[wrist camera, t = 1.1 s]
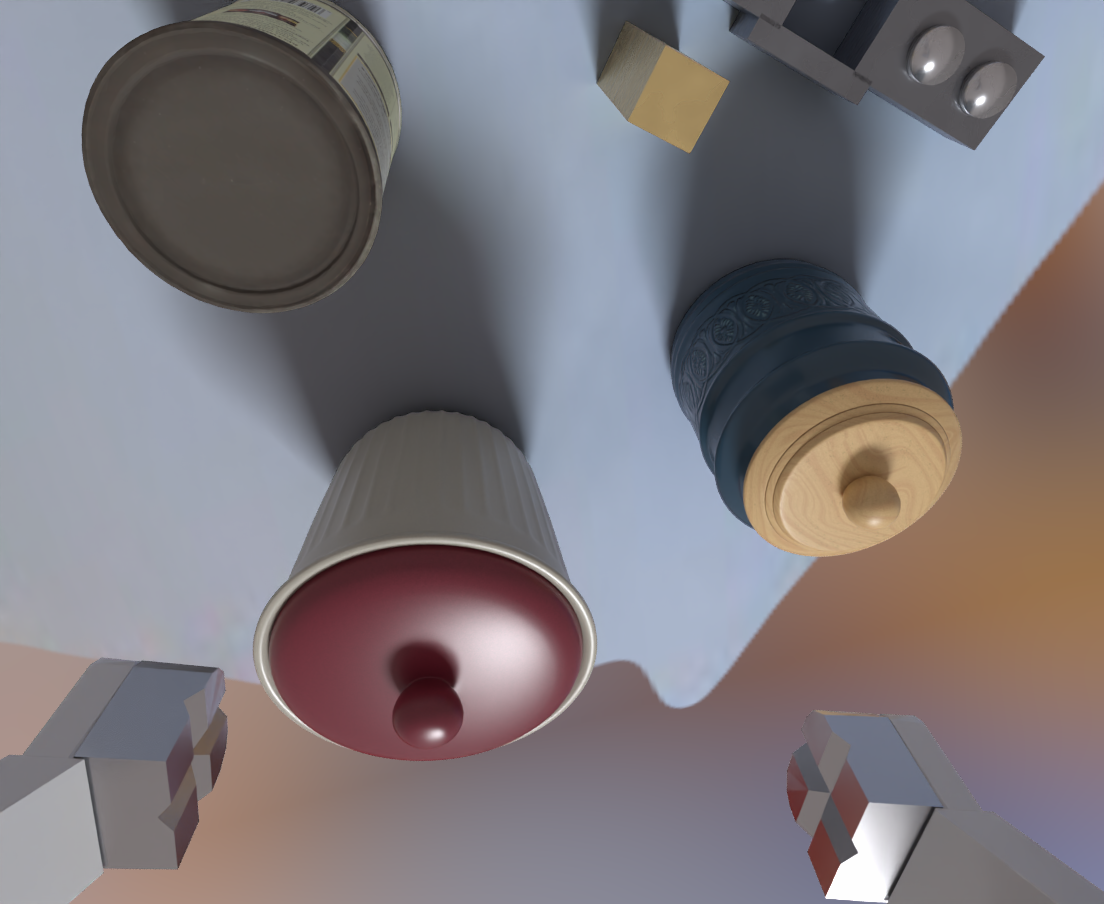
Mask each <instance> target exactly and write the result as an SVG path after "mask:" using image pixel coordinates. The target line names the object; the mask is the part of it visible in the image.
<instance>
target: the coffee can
mask: <svg viewBox="0 0 1104 904" xmlns="http://www.w3.org/2000/svg"><path fill="white" fill-rule="evenodd" d="M401 121H402V108H401V99H400V94H399V89H398V85H397V82H396V79H395V75H394V72H393V69H392V67H391V65H390V63H389V61H388V60H387V58H386V56H385V54H384V52H383V50H382V48H381V47H380V46H379V44H378V43H377V41H376V40H375V39H374V37H373V36H372V35H371V34H370V32H369V31H368V30H367V29H366V28H365V27H364V26H363V25H362V24H361V23H360V22H359V21H358V20H357V19H355V18H354V17H353V16H352V15H351V14H349V13H348V12H347V11H345V10H344V9H342V8H341V7H339V6H337V5H336V4H335V3H333V2H331V1H328V0H238V1H236V2H234V3H232V4H231V5H228V6H226V7H223V8H221V9H218V10H216V11H214V12H211V13H208V14H206V15H203V16H200V17H198V18H196V19H193V20H191V21H183V22H178V23H173V24H169V25H166V26H162V27H159V28H156V29H153V30H151V31H149V32H147V33H145V34H142V35H140V36H139V37H137V38H135V39H134V40H132V41H130V42H129V43H127V44H126V45H125V46H124V47H122V48H121V49H120V50H119V51H117V52H116V53H115V54H114V55H113V56H112V57H111V58H110V59H109V60H108V61H107V62H106V64H105V65H104V66H103V68H102V69H101V71H100V72H99V74H98V76H97V77H96V79H95V81H94V83H93V85H92V87H91V89H90V93H89V95H88V98H87V101H86V105H85V110H84V116H83V123H82V152H83V161H84V167H85V171H86V174H87V178H88V182H89V185H90V187H91V190H92V193H93V195H94V198H95V200H96V202H97V204H98V205H99V208H100V210H101V212H102V213H103V215H104V217H105V218H106V220H107V222H108V223H109V225H110V226H111V228H112V229H113V231H114V232H115V234H116V235H117V237H118V238H119V239H120V240H121V241H122V242H123V244H124V245H125V246H126V247H127V249H128V250H129V251H130V252H131V253H132V254H133V255H134V256H135V257H136V258H137V259H138V260H139V261H140V262H141V263H142V264H143V265H144V266H146V267H147V268H148V269H149V270H150V271H151V272H153V273H154V274H155V275H156V276H158V277H159V278H161V279H162V280H163V281H165V282H166V283H168V284H170V285H171V286H173V287H175V288H177V289H178V290H180V291H182V292H184V293H186V294H187V295H189V296H192V297H194V298H196V299H198V300H200V301H203V302H206V303H209V304H212V305H215V306H218V307H222V308H226V309H230V310H236V311H242V312H250V313H275V312H284V311H289V310H294V309H298V308H302V307H306V306H308V305H311V304H313V303H315V302H317V301H319V300H321V299H323V298H325V297H327V296H329V295H331V294H332V293H334V292H335V291H336V290H338V289H339V288H340V287H342V286H343V285H344V284H345V283H346V282H347V281H348V280H349V279H350V278H351V277H352V276H353V275H354V274H355V273H356V271H357V270H358V269H359V268H360V266H361V265H362V264H363V263H364V261H365V259H366V258H367V256H368V254H369V252H370V250H371V248H372V246H373V243H374V240H375V237H376V235H377V231H378V228H379V223H380V217H381V211H382V199H383V193H384V189H385V185H386V181H387V177H388V174H389V169H390V165H391V162H392V158H393V156H394V154H395V151H396V148H397V145H398V141H399V137H400V132H401Z"/></svg>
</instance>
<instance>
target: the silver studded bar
mask: <svg viewBox="0 0 1104 904" xmlns="http://www.w3.org/2000/svg"><path fill="white" fill-rule="evenodd" d="M723 1H725V2H726V3H728V4H730V5H731V6H733V7H734V8H736V9H738V10H739V11H740V12H739V14H738V16H737V18H736V20H735V22H734V23H733V25H732V27H731V29H730V32H731V33H733V34H735V35H736V36H738V37H740V38H741V39H743V40H745V41H746V42H748V43H750V44H751V45H753V46H755V47H756V48H758V49H760V50H761V51H763V52H765V53H766V54H768V55H770V56H771V57H773V58H775V59H776V60H778V61H780V62H781V63H783V64H785V65H786V66H788V67H790V68H791V69H793V70H795V71H796V72H798V73H800V74H801V75H803V76H805V77H806V78H808V79H810V80H811V81H813V82H815V83H816V84H818V85H820V86H821V87H823V88H825V89H826V90H828V91H829V92H831V93H833V94H835V95H837V96H839V97H841V98H843V99H845V100H847V101H850V102H852V103H854V104H856V105H858V103H859V102H860V100H861V99H862V97H863V96H864V94H865V93H866V91H867V90H869V91H871V92H873V93H874V94H876V95H877V96H879V97H881V98H882V99H884V100H886V101H887V102H889V103H890V104H892V105H894V106H895V107H897V108H899V109H900V110H902V111H903V112H905V113H907V114H908V115H910V116H912V117H913V118H915V119H916V120H918V121H920V122H921V123H923V124H925V125H926V126H928V127H929V128H931V129H933V130H934V131H936V132H938V133H939V134H941V135H942V136H944V137H946V138H948V139H950V140H953V141H955V142H957V143H959V144H961V145H964V146H966V147H968V148H970V149H972V150H975V149H976V148H977V146H978V145H979V144H980V142H981V141H982V140H983V138H984V137H985V136H986V134H987V133H988V132H989V130H990V129H991V128H992V126H993V125H994V124H995V122H996V121H997V120H998V118H999V117H1000V116H1001V114H1002V113H1003V112H1004V110H1005V109H1006V108H1007V106H1008V105H1009V104H1010V102H1011V101H1012V100H1013V98H1014V97H1015V96H1016V94H1017V93H1018V92H1019V90H1020V89H1021V88H1022V86H1023V85H1024V84H1025V82H1026V81H1027V80H1028V78H1029V77H1030V76H1031V74H1032V73H1033V72H1034V70H1035V69H1036V68H1037V66H1038V65H1039V64H1040V62H1041V61H1042V60H1043V58H1044V57H1045V56H1043V55H1042V54H1041V53H1039V52H1038V51H1036V50H1035V49H1034V48H1032V47H1031V46H1029V45H1028V44H1026V43H1025V42H1024V41H1022V40H1021V39H1019V38H1018V37H1017V36H1015V35H1014V34H1012V33H1011V32H1010V31H1008V30H1007V29H1005V28H1004V27H1002V26H1001V25H1000V24H998V23H997V22H995V21H994V20H993V19H991V18H990V17H988V16H987V15H986V14H984V13H983V12H981V11H980V10H978V9H977V8H976V7H974V6H973V5H971V4H970V3H969V2H967V1H966V0H868V1H867V2H866V4H865V6H864V7H863V9H862V10H861V12H860V14H859V15H858V17H857V19H856V20H855V22H854V24H853V25H852V27H851V28H850V30H849V32H848V33H847V35H846V37H845V38H844V40H843V42H842V43H841V45H840V46H839V48H838V50H837V51H836V53H835V55H834V56H833V57H832V56H830V55H829V54H827V53H825V52H824V51H822V50H820V49H819V48H817V47H816V46H814V45H812V44H811V43H809V42H808V41H806V40H804V39H803V38H801V37H800V36H798V35H796V34H795V33H793V32H792V31H790V30H788V29H787V28H785V27H783V26H782V24H783V22H784V21H785V19H786V17H787V15H788V13H789V12H790V10H791V8H792V6H793V5H794V3H795V1H796V0H723Z"/></svg>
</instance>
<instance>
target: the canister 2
mask: <svg viewBox="0 0 1104 904" xmlns="http://www.w3.org/2000/svg"><path fill="white" fill-rule="evenodd" d="M671 377H672V384H673V389H674V392H675V396H676V398H677V400H678V403H679V405H680V407H681V409H682V411H683V413H684V415H685V416H686V418H687V419H688V420H689V421H690V423H691V425H692V427H693V429H694V431H695V433H696V436H697V438H698V440H699V442H700V447H701V451H702V455H703V457H704V460H705V462H706V464H707V466H708V467H709V469H710V470H711V472H712V473H713V475H714V476H715V481H716V485H717V489H718V492H719V494H720V496H721V499H722V500H723V502H724V504H725V505H726V507H727V508H728V509H729V511H730V512H731V513H732V514H733V515H734V516H735V517H736V518H737V519H739V520H740V521H741V522H742V523H744V524H745V525H747V526H749V527H750V528H752V529H754V530H756V531H757V533H758V534H759V535H760V536H761V537H762V538H763V539H765V540H766V541H767V542H769V543H770V544H772V545H773V546H775V547H777V548H779V549H782V550H784V551H787V552H790V553H794V554H798V555H804V556H818V557H822V556H836V555H842V554H848V553H852V552H856V551H860V550H863V549H866V548H869V547H871V546H874V545H876V544H879V543H881V542H883V541H885V540H887V539H889V538H891V537H893V536H895V535H897V534H898V533H900V532H901V531H903V530H905V529H906V528H908V527H909V526H910V525H912V524H913V523H914V522H916V521H917V520H918V519H919V518H920V517H922V516H923V515H924V514H925V513H926V512H927V511H928V510H929V509H930V508H931V507H932V506H933V505H934V504H935V503H936V502H937V500H938V499H939V498H940V497H941V496H942V494H943V493H944V491H945V490H946V488H947V487H948V485H949V484H950V482H951V480H952V478H953V476H954V474H955V471H956V469H957V466H958V464H959V460H960V456H961V449H962V434H961V428H960V424H959V422H958V419H957V416H956V415H955V413H954V410H953V409H954V407H953V399H952V395H951V391H950V388H949V386H948V383H947V381H946V379H945V377H944V376H943V374H942V373H941V371H940V370H939V369H938V368H937V366H936V365H935V364H934V363H933V362H931V361H930V360H929V359H928V358H927V357H925V356H924V355H922V354H921V353H919V352H917V351H916V350H914V349H913V348H912V346H911V345H910V343H909V342H908V340H907V339H906V338H905V337H904V336H903V335H902V334H901V333H900V332H899V331H898V330H897V329H895V328H894V327H893V326H891V325H890V324H888V323H886V322H885V321H883V320H882V319H881V318H880V317H879V316H877V315H876V314H875V313H874V312H873V311H872V310H871V309H870V308H869V307H868V306H867V305H866V303H865V301H864V300H863V298H862V297H861V296H860V294H859V293H858V292H857V291H856V290H855V289H854V288H853V287H852V286H851V285H849V284H848V283H847V282H846V281H845V280H844V279H842V278H841V277H840V276H838V275H837V274H835V273H833V272H831V271H829V270H827V269H825V268H822V267H819V266H816V265H814V264H811V263H808V262H804V261H799V260H791V259H776V260H767V261H762V262H757V263H754V264H751V265H748V266H745V267H742V268H740V269H738V270H736V271H733V272H732V273H730V274H728V275H726V276H724V277H723V278H721V279H720V280H718V281H717V282H716V283H714V284H713V285H712V286H710V287H709V288H708V289H707V290H706V291H705V292H704V293H703V294H701V295H700V297H699V298H698V299H697V300H696V301H695V302H694V303H693V305H692V306H691V307H690V309H689V310H688V311H687V313H686V314H685V316H684V318H683V319H682V321H681V323H680V325H679V327H678V330H677V332H676V335H675V338H674V342H673V346H672V352H671Z"/></svg>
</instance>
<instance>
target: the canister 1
mask: <svg viewBox="0 0 1104 904" xmlns="http://www.w3.org/2000/svg"><path fill="white" fill-rule="evenodd" d="M596 653H597V635H596V629H595V624H594V620H593V617H592V615H591V612H590V610H589V608H588V606H587V604H586V602H585V601H584V599H583V598H582V596H581V595H580V593H579V592H578V591H577V590H576V588H575V587H574V586H573V585H572V584H571V582H570V579H569V576H568V573H567V570H566V567H565V564H564V561H563V558H562V554H561V551H560V548H559V545H558V542H557V538H556V535H555V532H554V529H553V526H552V523H551V520H550V517H549V514H548V512H547V509H546V506H545V503H544V500H543V498H542V495H541V492H540V489H539V487H538V484H537V481H536V478H535V476H534V473H533V471H532V468H531V467H530V465H529V463H528V462H527V461H526V459H525V457H524V455H523V453H522V452H521V451H520V450H519V449H518V448H517V447H516V446H515V444H514V443H513V441H512V440H511V439H510V438H508V437H506V436H504V435H503V433H502V432H501V431H500V430H499V429H497V428H494V427H492V426H490V425H489V424H488V423H487V422H486V421H480V420H478V419H476V418H474V417H473V416H466V415H463V414H460V413H458V412H446V411H443V410H440V411H428V410H425V411H423V412H418V413H415V412H410V413H409V414H407V415H404V416H396V417H394V418H393V419H392V420H390V421H388V422H383V423H381V424H380V425H379V426H378V427H377V428H375V429H372V430H370V431H368V432H367V433H366V434H365V435H364V437H363V438H362V439H360V440H358V441H357V442H356V443H355V444H354V445H353V447H352V448H351V450H350V451H349V452H348V453H347V454H346V456H345V457H344V458H343V460H342V462H341V464H340V466H339V468H338V470H337V472H336V474H335V475H334V477H333V479H332V481H331V483H330V486H329V488H328V490H327V492H326V494H325V496H324V498H323V500H322V502H321V505H320V507H319V509H318V511H317V513H316V516H315V518H314V520H313V523H312V525H311V527H310V529H309V532H308V534H307V537H306V539H305V541H304V544H303V546H302V549H301V551H300V553H299V556H298V558H297V560H296V563H295V565H294V567H293V569H292V572H291V574H290V576H289V579H288V580H287V581H286V582H285V583H284V584H283V585H282V586H281V587H280V588H279V589H278V590H277V591H276V592H275V594H274V595H273V596H272V597H271V599H270V600H269V602H268V603H267V605H266V606H265V608H264V610H263V612H262V614H261V616H260V618H259V621H258V624H257V627H256V631H255V635H254V641H253V658H254V664H255V669H256V672H257V675H258V678H259V680H260V682H261V684H262V686H263V688H264V690H265V691H266V693H267V694H268V696H269V697H270V698H271V700H272V701H273V702H274V704H275V705H276V706H277V707H278V708H279V709H280V710H281V711H282V712H283V713H284V714H285V715H286V716H287V717H289V718H290V719H291V720H292V721H294V722H295V723H296V724H298V725H299V726H300V727H302V728H304V729H305V730H307V731H309V732H310V733H312V734H314V735H316V736H318V737H320V738H322V739H324V740H326V741H328V742H331V743H333V744H336V745H338V746H341V747H344V748H348V749H351V750H354V751H358V752H361V753H365V754H368V755H372V756H377V757H383V758H389V759H397V760H410V761H433V760H446V759H454V758H460V757H466V756H470V755H475V754H479V753H482V752H485V751H489V750H492V749H494V748H498V747H501V746H504V745H507V744H509V743H512V742H514V741H516V740H519V739H521V738H523V737H525V736H527V735H529V734H531V733H533V732H535V731H536V730H538V729H540V728H542V727H543V726H545V725H546V724H548V723H549V722H551V721H552V720H553V719H554V718H556V717H557V716H559V715H560V714H561V713H562V712H563V711H564V710H565V709H566V708H567V707H568V706H569V705H570V704H571V703H572V702H573V701H574V700H575V699H576V697H577V696H578V695H579V694H580V692H581V691H582V689H583V688H584V686H585V684H586V683H587V681H588V679H589V677H590V675H591V672H592V670H593V667H594V663H595V659H596Z"/></svg>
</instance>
